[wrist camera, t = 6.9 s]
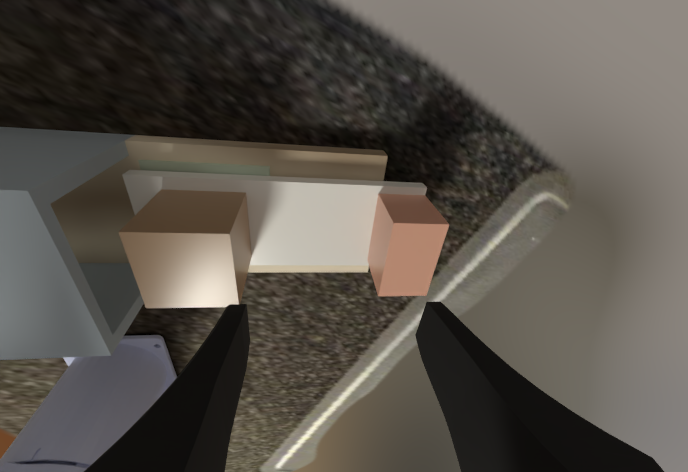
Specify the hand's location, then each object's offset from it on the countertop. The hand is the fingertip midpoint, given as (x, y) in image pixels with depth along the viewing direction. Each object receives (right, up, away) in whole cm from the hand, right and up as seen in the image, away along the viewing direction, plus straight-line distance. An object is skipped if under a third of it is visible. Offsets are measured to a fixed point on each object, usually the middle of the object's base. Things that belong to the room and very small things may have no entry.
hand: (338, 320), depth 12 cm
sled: (-3, +4, +7) cm, 9 cm away
